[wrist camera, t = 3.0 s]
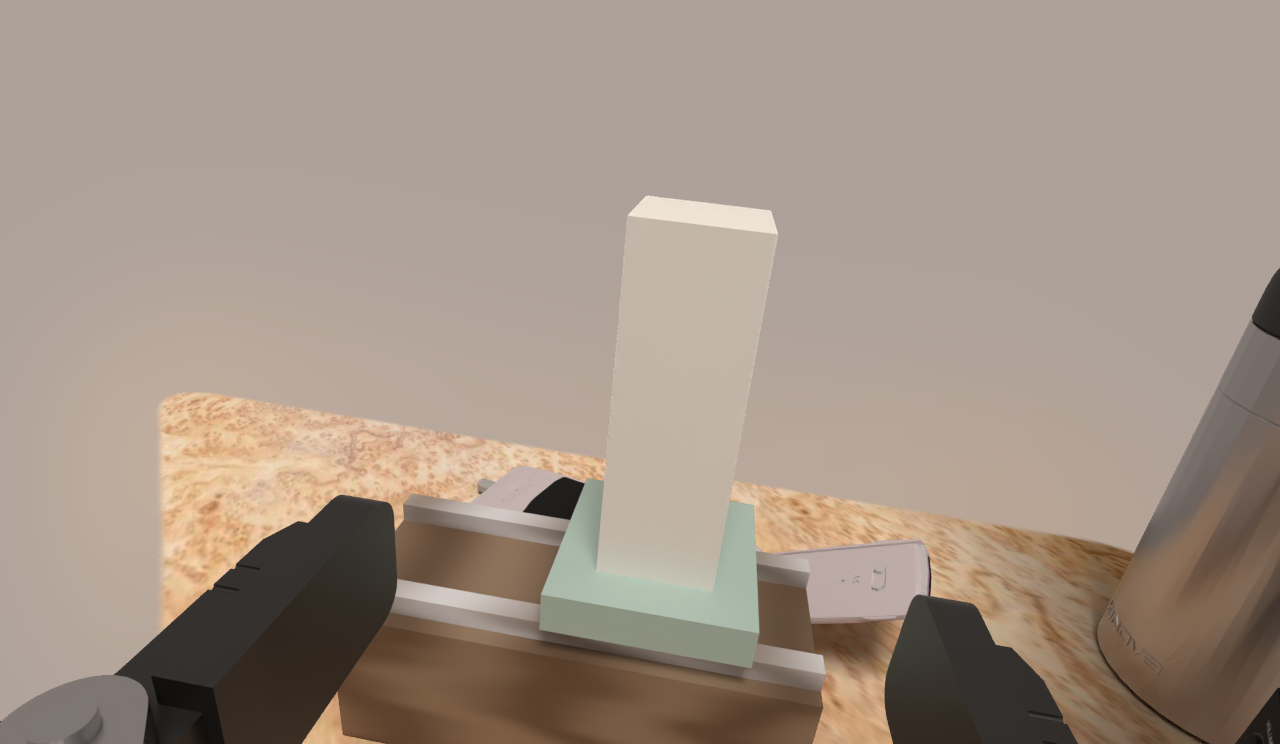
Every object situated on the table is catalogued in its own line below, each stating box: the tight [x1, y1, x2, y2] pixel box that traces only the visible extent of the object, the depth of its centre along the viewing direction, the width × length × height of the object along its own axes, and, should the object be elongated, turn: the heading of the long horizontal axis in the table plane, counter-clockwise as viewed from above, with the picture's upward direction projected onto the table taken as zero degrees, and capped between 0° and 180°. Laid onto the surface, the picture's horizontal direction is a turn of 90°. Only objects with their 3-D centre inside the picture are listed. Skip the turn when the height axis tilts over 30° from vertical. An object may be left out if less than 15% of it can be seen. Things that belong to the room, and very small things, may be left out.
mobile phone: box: [470, 466, 931, 624], centre depth 33 cm, size 6×6×25 cm
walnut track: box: [338, 494, 826, 744], centre depth 26 cm, size 17×7×7 cm, turn 82°
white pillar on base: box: [539, 196, 778, 668], centre depth 22 cm, size 7×7×14 cm
